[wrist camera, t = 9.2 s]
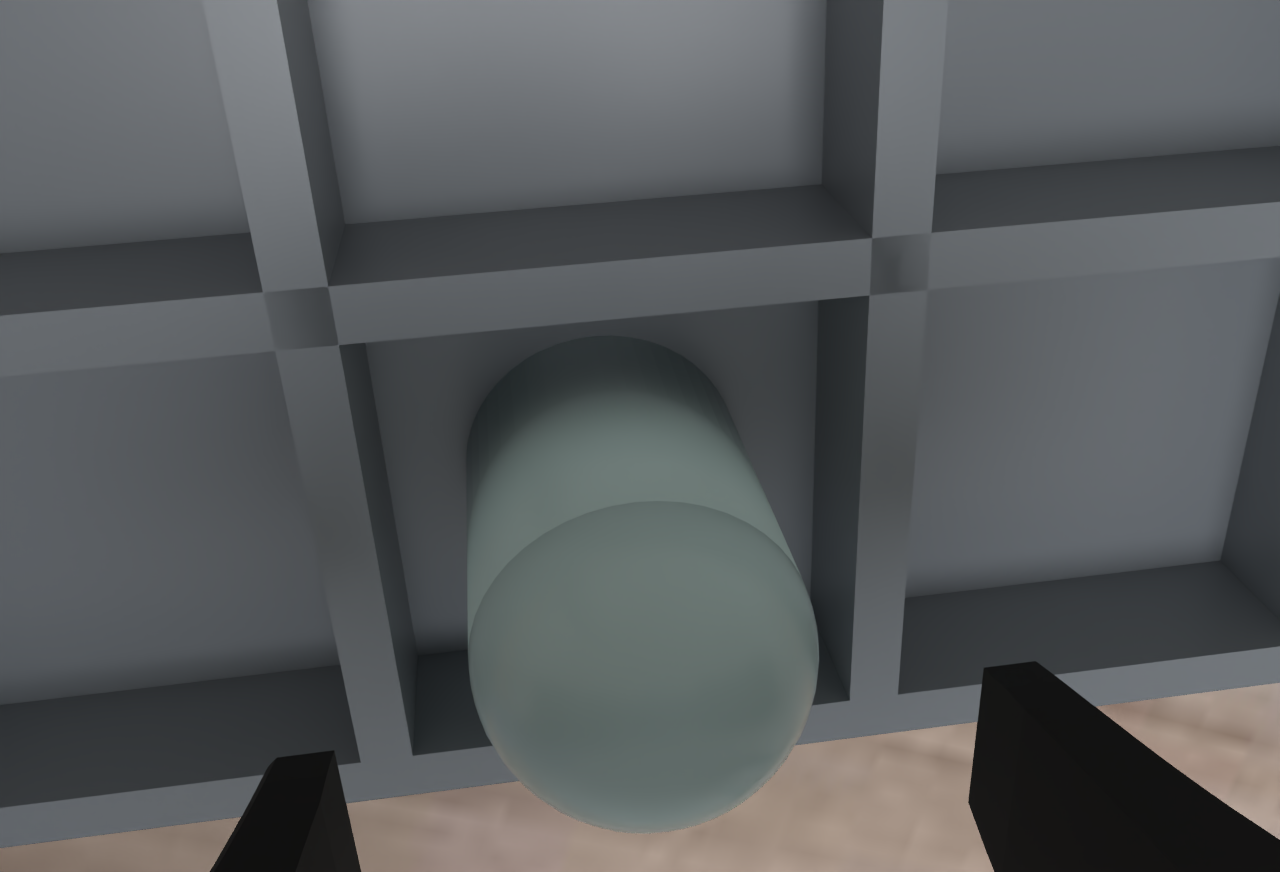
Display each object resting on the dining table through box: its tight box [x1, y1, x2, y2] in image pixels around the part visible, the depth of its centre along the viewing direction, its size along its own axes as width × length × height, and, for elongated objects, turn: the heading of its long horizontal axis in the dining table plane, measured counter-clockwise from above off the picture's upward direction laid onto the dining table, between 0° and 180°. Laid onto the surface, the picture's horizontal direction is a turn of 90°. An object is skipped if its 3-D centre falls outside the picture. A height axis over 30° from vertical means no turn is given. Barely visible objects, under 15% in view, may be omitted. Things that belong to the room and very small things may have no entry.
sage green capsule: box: [466, 335, 819, 834], centre depth 16 cm, size 4×4×7 cm
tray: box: [0, 0, 1280, 848], centre depth 17 cm, size 24×16×4 cm
